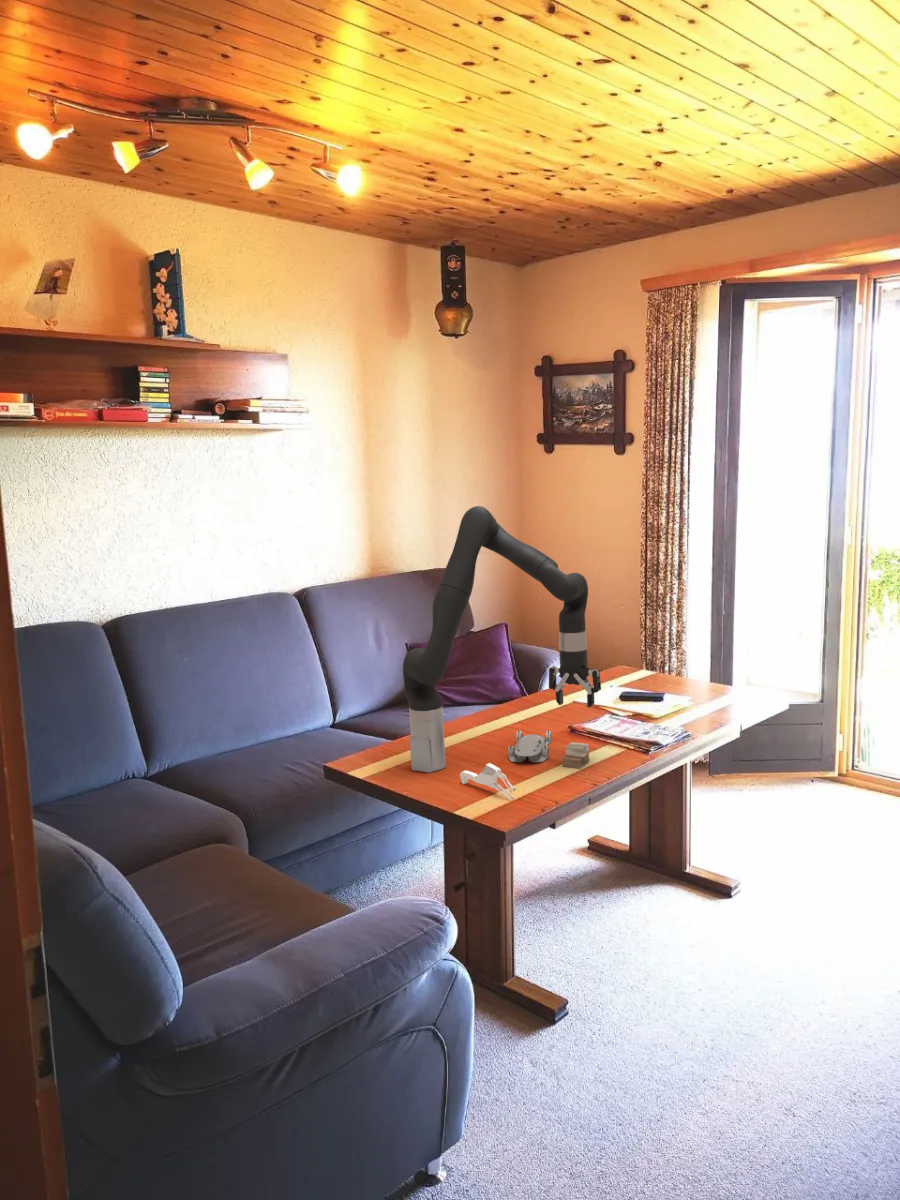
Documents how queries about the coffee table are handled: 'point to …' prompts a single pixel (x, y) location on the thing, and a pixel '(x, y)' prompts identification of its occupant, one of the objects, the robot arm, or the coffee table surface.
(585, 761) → the chock
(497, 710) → the coffee table surface
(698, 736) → the coffee table surface
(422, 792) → the coffee table surface
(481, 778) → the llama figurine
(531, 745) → the car model
